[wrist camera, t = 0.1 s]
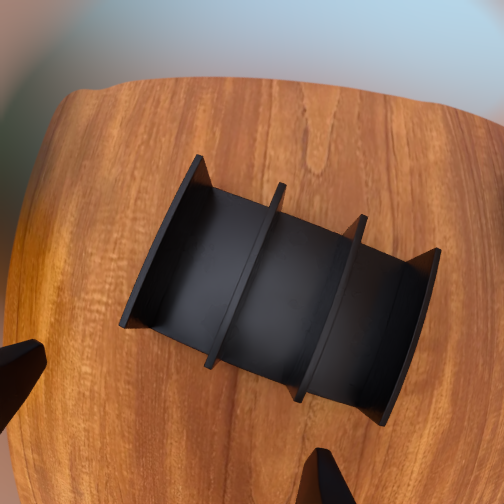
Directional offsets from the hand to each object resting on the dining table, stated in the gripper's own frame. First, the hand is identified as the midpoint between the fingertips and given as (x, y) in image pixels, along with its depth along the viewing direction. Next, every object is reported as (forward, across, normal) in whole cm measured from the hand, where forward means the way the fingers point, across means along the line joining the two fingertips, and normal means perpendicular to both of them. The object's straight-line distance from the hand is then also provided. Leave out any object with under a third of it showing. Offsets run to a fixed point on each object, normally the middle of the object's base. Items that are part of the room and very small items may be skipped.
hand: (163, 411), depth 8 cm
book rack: (+16, -3, +3) cm, 16 cm away
